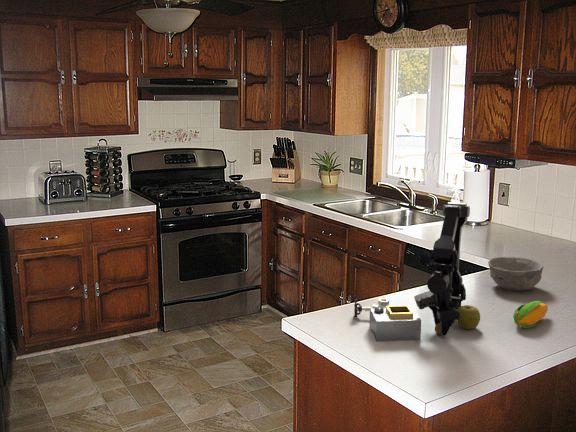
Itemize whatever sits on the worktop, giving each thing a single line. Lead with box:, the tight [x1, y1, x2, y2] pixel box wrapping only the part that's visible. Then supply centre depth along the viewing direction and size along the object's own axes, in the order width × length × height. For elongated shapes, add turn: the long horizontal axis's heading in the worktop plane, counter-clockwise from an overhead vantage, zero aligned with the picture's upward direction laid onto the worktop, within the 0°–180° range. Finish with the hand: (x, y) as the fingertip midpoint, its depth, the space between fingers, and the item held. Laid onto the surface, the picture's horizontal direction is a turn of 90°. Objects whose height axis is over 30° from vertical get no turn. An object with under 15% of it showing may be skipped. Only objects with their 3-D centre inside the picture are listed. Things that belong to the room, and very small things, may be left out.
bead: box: [434, 323, 442, 336], centre depth 200 cm, size 4×4×4 cm
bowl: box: [487, 256, 544, 292], centre depth 245 cm, size 21×21×10 cm
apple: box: [456, 304, 481, 330], centre depth 205 cm, size 8×8×7 cm
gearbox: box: [369, 304, 422, 342], centre depth 201 cm, size 14×12×8 cm
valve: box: [353, 297, 390, 318], centre depth 215 cm, size 7×7×12 cm
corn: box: [512, 300, 549, 329], centre depth 209 cm, size 7×8×20 cm
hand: (440, 331), depth 200 cm, fingers open, 7 cm apart
